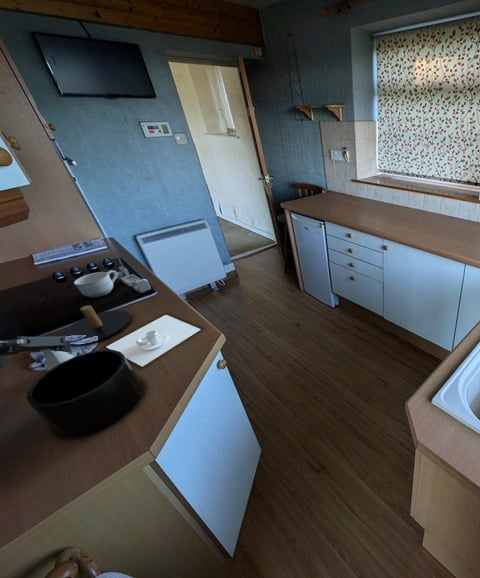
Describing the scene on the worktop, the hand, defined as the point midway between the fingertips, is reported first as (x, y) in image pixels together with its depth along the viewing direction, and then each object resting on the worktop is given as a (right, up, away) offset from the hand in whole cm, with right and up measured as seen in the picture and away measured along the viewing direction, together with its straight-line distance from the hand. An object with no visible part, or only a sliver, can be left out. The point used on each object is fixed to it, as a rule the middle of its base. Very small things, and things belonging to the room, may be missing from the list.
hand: (36, 354), depth 80 cm
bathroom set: (-19, +21, +53) cm, 60 cm away
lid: (-8, +4, +25) cm, 27 cm away
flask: (-3, -6, +10) cm, 12 cm away
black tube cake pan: (+19, -13, -1) cm, 23 cm away
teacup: (-25, +16, +46) cm, 55 cm away
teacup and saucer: (+16, +1, +22) cm, 27 cm away
